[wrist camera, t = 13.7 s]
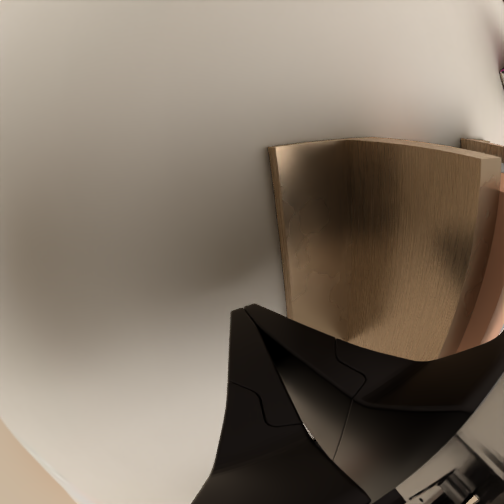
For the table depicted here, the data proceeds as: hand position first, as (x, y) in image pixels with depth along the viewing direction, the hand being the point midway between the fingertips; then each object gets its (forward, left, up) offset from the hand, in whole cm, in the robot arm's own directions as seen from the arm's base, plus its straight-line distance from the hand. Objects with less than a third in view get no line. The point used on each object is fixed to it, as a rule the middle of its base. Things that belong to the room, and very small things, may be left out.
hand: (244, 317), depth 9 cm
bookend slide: (0, -5, -2) cm, 5 cm away
